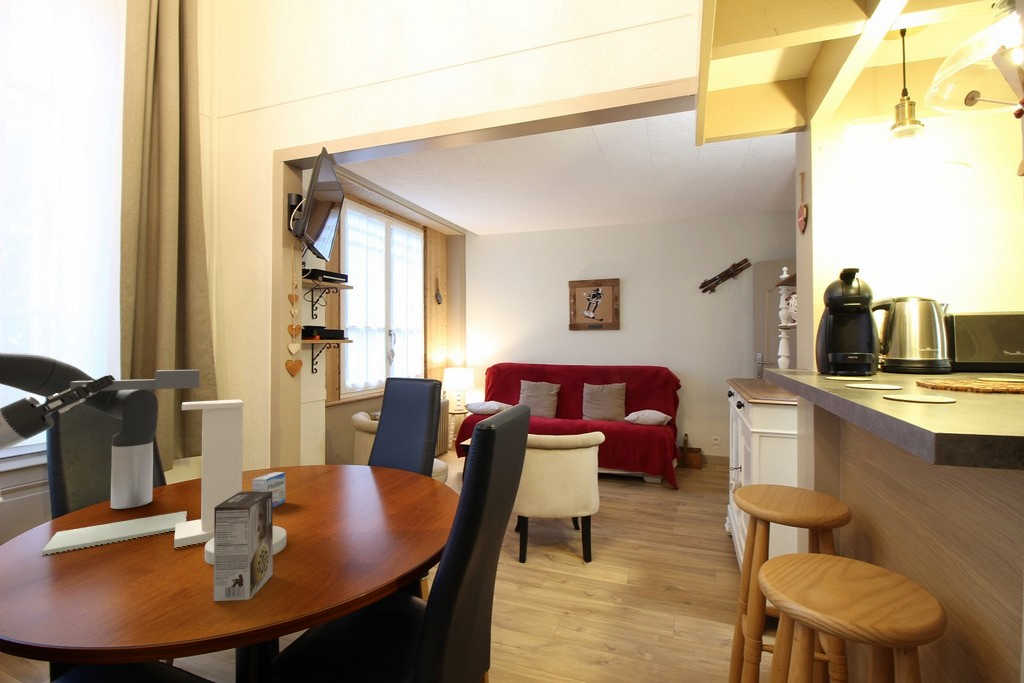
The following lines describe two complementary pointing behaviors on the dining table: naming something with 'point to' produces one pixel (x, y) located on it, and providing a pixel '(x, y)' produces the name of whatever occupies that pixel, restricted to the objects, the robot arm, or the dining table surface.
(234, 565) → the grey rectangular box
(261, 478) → the medicine box
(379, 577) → the dining table surface
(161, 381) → the gray flanged block
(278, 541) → the roll of tape
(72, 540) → the mat
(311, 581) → the dining table surface
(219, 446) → the white flanged bar
